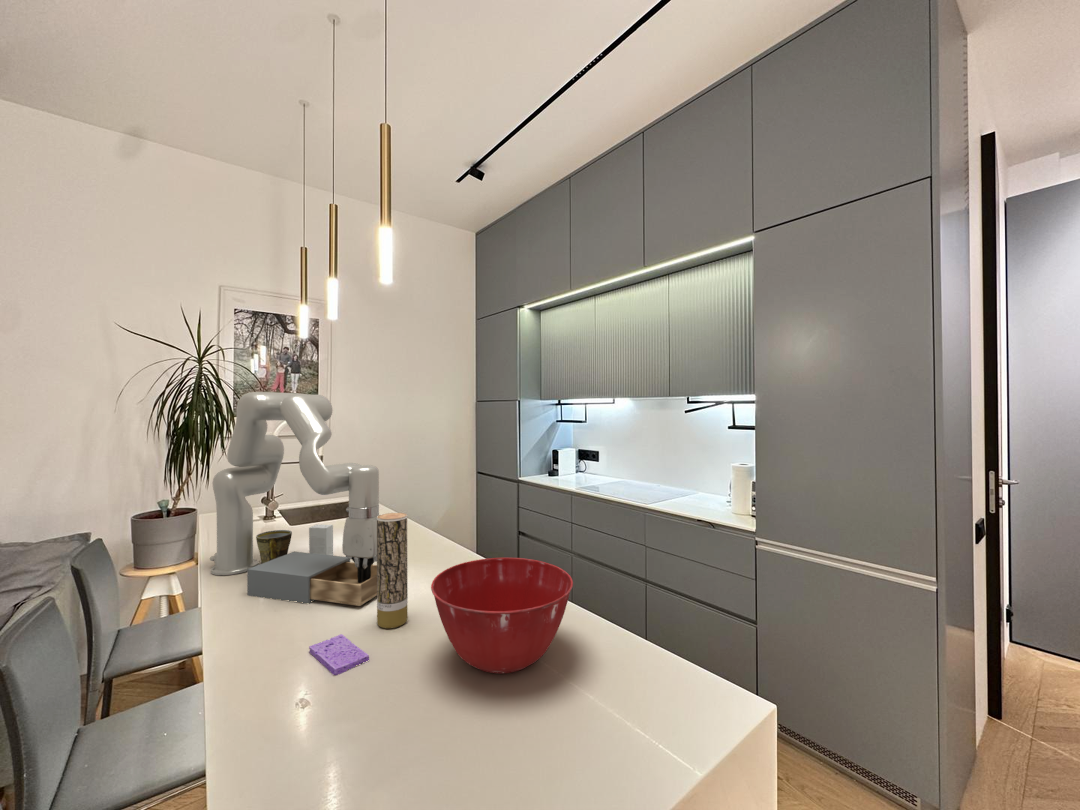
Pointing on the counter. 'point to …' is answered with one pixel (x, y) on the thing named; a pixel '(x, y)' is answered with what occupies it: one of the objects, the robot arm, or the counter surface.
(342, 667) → the sponges
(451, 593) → the mixing bowl
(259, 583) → the sleeve
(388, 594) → the paper tube
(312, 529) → the skincare box
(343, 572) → the tray
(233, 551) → the robot arm
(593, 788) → the counter surface
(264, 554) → the ceramic cup
